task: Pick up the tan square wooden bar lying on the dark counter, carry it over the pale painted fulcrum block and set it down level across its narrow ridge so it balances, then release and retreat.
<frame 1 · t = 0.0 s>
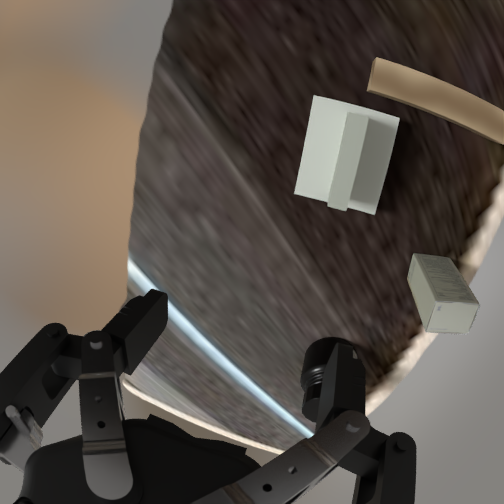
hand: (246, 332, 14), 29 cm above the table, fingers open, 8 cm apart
ink bottle: (331, 354, 51), on the table
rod: (437, 100, 31), on the table
skincare box: (429, 267, 40), on the table
fulcrum: (345, 152, 37), on the table
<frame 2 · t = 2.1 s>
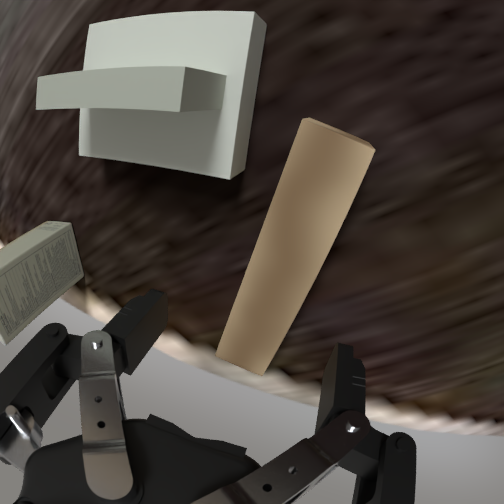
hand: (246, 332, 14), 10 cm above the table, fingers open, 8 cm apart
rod: (290, 248, 23), on the table
skincare box: (67, 248, 29), on the table
fulcrum: (172, 88, 19), on the table
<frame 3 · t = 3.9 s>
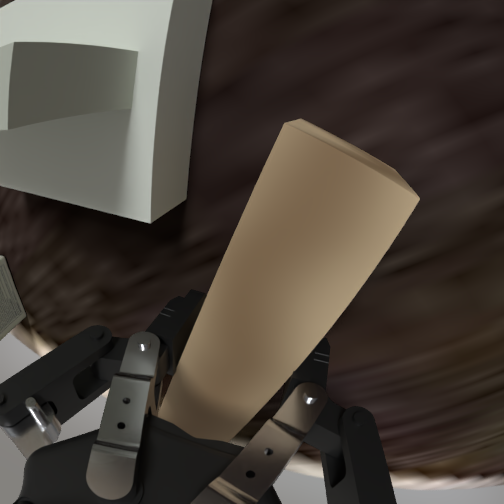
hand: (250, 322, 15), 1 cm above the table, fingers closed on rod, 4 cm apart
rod: (254, 314, 15), on the table, touching gripper
skincare box: (7, 283, 22), on the table
fulcrum: (88, 82, 12), on the table
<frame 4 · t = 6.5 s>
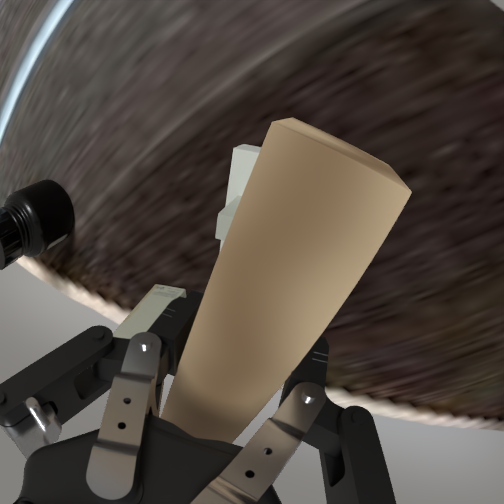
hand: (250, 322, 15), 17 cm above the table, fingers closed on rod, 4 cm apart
ink bottle: (55, 208, 38), on the table
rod: (254, 314, 15), point 16 cm above the table, touching gripper
skincare box: (175, 305, 39), on the table
fulcrum: (296, 208, 30), on the table
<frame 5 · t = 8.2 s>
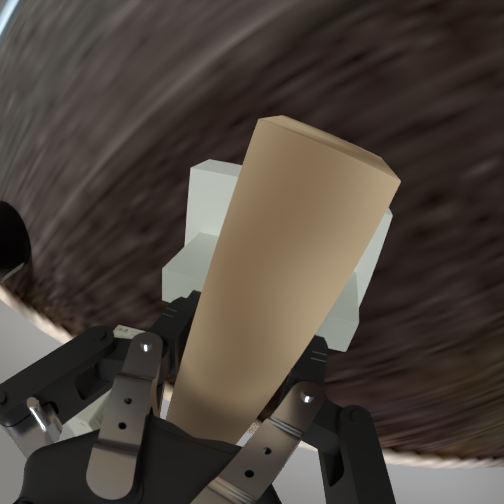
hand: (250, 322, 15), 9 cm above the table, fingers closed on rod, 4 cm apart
ink bottle: (12, 232, 31), on the table
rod: (255, 313, 15), point 8 cm above the table, touching fulcrum, gripper
skincare box: (142, 348, 32), on the table
fulcrum: (281, 245, 22), on the table
when the fingers open (9 cm above the table, at t = 9.0 s): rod stays where it is, resting on fulcrum.
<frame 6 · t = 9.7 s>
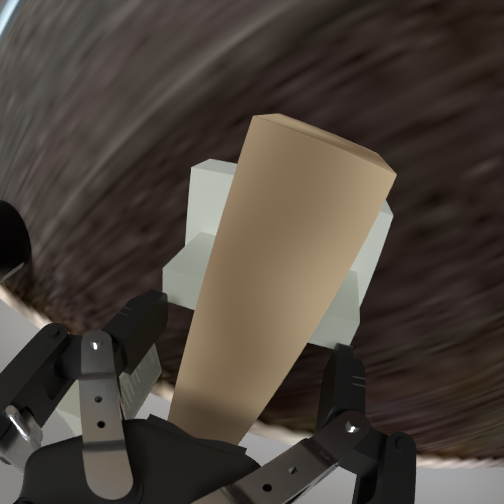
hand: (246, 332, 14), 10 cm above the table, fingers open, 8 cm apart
ink bottle: (12, 232, 31), on the table
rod: (255, 312, 15), point 8 cm above the table, touching fulcrum
skincare box: (143, 348, 32), on the table
fulcrum: (282, 245, 22), on the table
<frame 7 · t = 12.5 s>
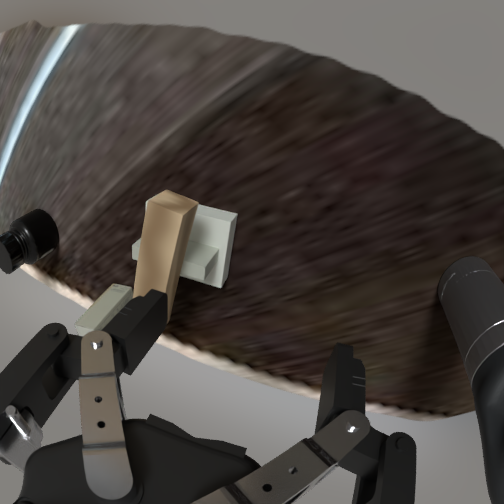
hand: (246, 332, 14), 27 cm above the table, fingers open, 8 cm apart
ink bottle: (45, 228, 52), on the table
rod: (166, 262, 38), point 8 cm above the table, touching fulcrum
skincare box: (126, 298, 54), on the table
fulcrum: (192, 236, 45), on the table
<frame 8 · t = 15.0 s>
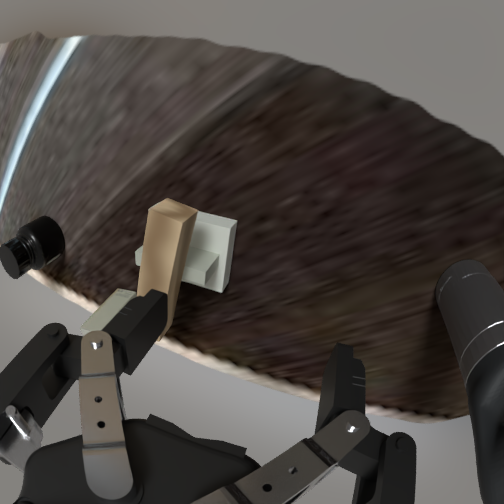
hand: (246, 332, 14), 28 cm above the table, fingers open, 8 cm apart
ink bottle: (51, 235, 55), on the table
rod: (168, 268, 39), point 8 cm above the table, touching fulcrum
skincare box: (131, 303, 56), on the table
fulcrum: (193, 242, 46), on the table
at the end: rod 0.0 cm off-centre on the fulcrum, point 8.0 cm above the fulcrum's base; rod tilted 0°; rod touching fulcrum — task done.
